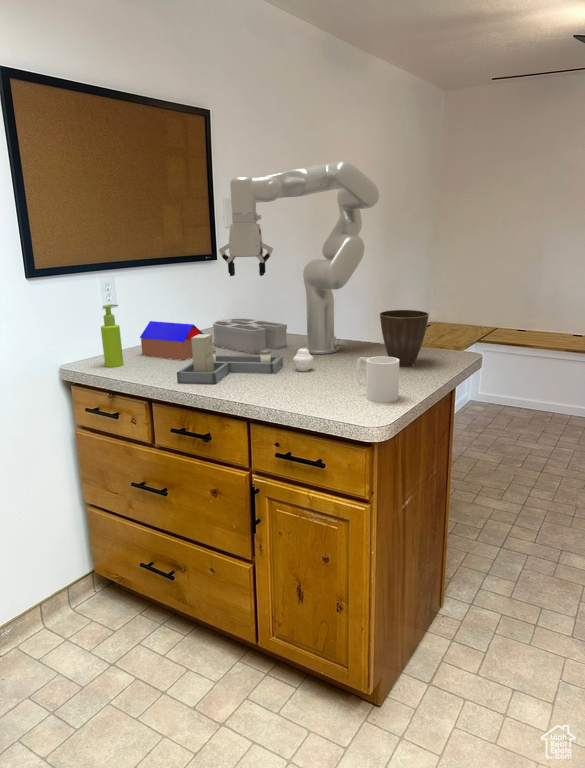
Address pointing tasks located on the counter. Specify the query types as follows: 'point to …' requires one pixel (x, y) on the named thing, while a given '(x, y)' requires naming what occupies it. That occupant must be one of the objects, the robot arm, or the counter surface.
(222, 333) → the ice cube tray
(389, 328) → the plant pot
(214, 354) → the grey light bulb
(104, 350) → the soap dispenser
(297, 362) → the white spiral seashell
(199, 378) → the tray
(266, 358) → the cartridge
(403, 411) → the counter surface
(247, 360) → the grey rectangular frame
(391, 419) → the counter surface
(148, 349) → the house
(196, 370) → the skincare box
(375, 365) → the cup
